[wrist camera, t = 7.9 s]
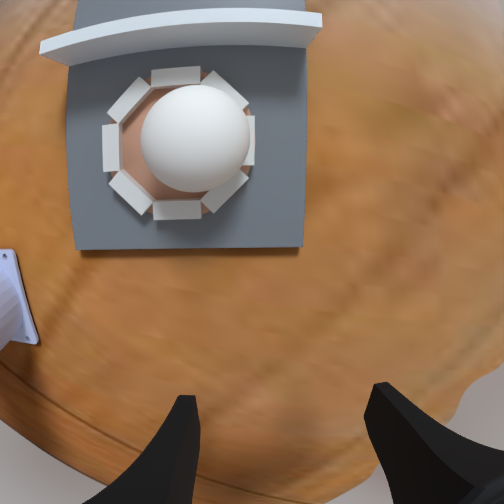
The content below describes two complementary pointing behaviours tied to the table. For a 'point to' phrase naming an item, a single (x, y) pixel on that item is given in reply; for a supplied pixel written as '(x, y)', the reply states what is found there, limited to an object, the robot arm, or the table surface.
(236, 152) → the ball
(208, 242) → the board
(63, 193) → the table surface
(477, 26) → the table surface
